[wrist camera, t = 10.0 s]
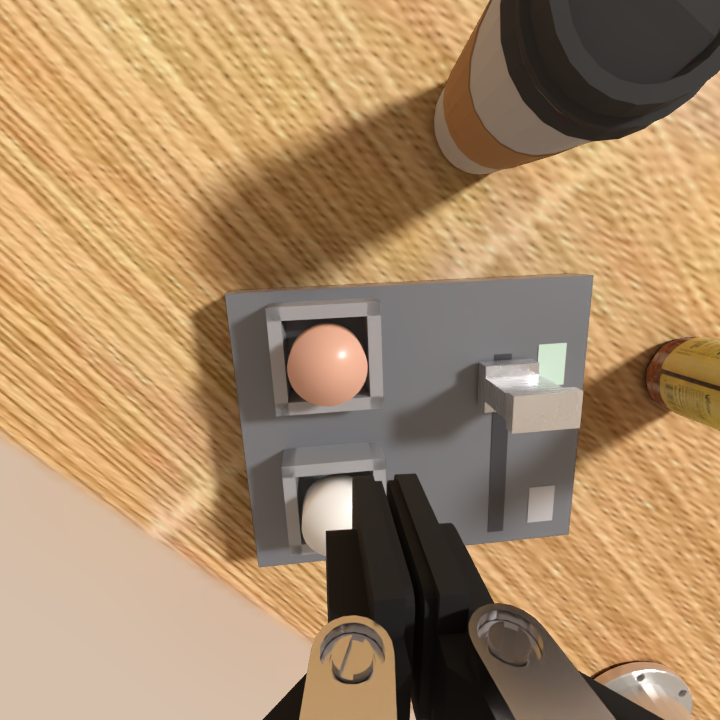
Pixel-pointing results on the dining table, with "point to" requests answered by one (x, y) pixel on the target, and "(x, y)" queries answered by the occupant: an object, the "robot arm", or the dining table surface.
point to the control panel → (411, 401)
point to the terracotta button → (327, 364)
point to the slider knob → (527, 397)
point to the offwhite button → (326, 509)
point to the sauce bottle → (688, 379)
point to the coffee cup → (571, 76)
